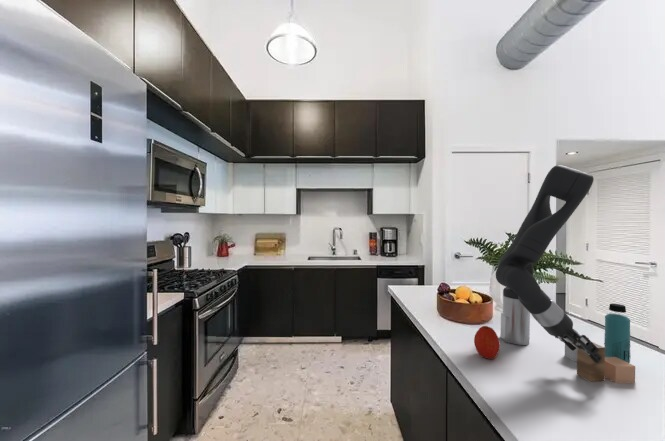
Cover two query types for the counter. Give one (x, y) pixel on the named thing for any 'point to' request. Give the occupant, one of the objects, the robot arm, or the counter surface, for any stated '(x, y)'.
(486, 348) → the red ellipsoid
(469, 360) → the counter surface
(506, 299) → the robot arm
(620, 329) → the beverage bottle
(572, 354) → the grey post
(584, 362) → the tan rectangular block
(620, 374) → the terracotta block
